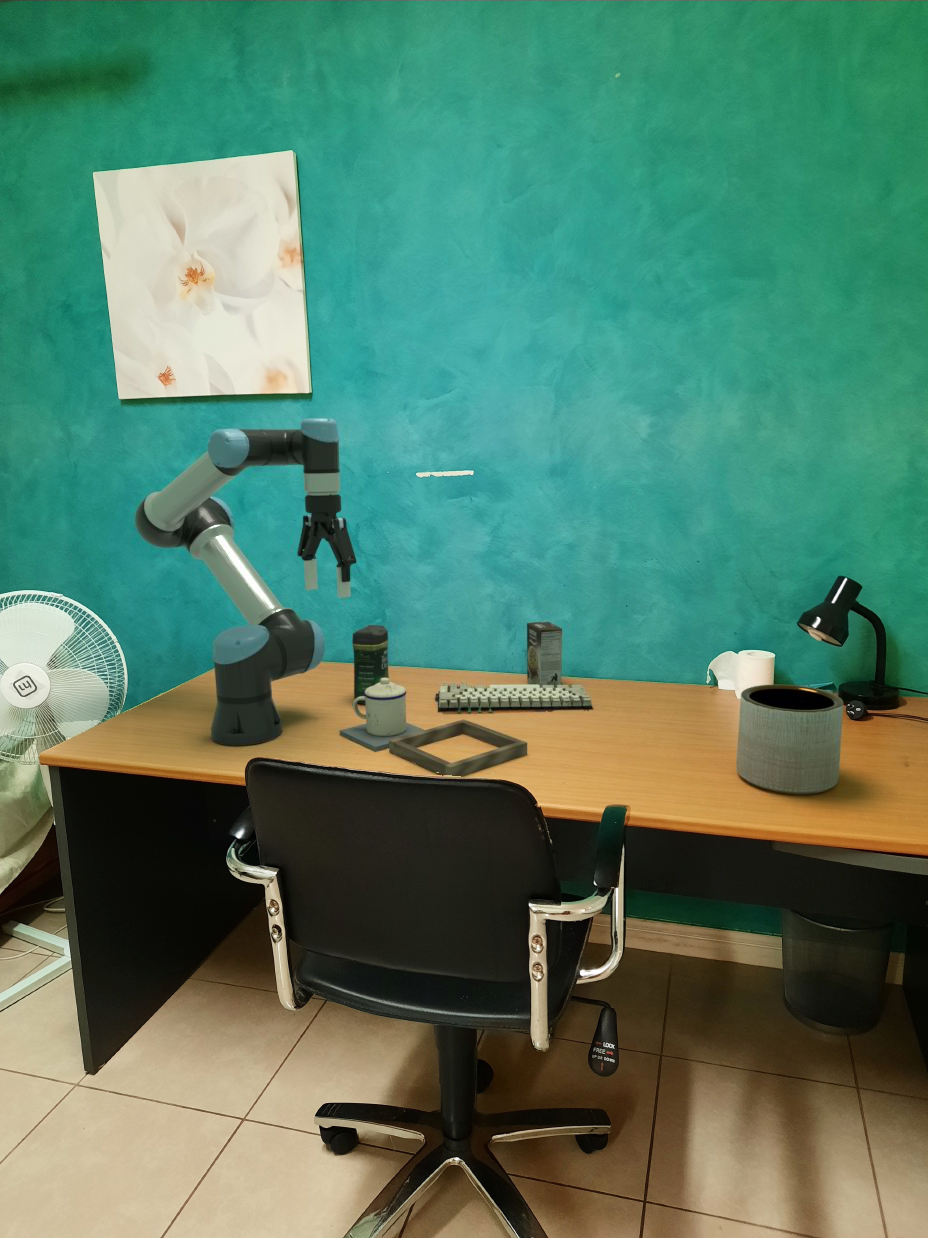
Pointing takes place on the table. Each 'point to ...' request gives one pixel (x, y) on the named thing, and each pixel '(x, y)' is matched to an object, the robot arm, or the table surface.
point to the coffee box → (544, 654)
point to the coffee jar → (369, 658)
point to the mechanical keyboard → (510, 698)
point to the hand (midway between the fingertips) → (327, 593)
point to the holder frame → (506, 752)
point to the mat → (374, 736)
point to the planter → (789, 738)
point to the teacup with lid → (384, 708)
